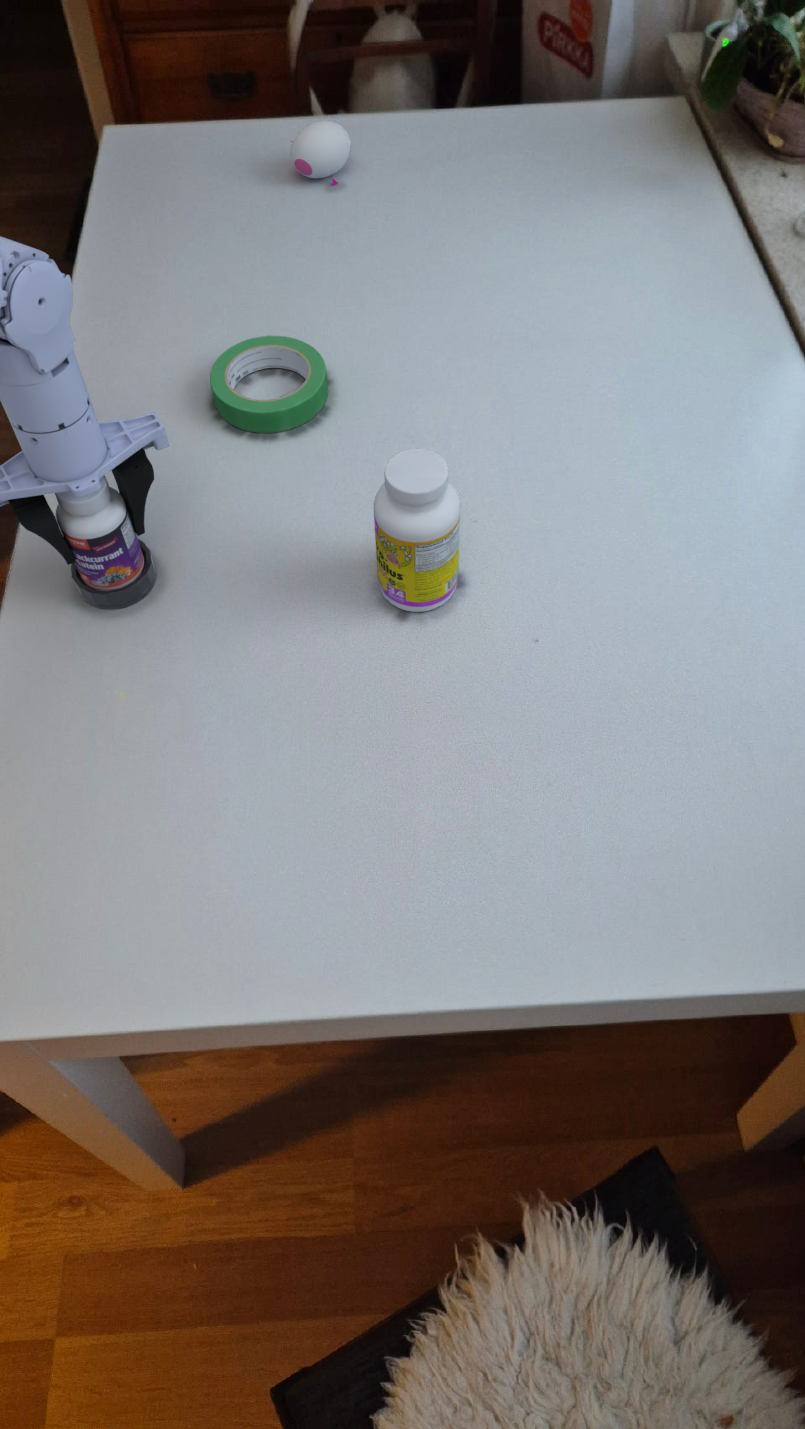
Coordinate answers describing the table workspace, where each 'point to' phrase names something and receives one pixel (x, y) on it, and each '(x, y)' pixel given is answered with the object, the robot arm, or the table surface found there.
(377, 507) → the supplement bottle
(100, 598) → the round open container
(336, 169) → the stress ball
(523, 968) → the table surface
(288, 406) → the tape roll
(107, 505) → the pill bottle
